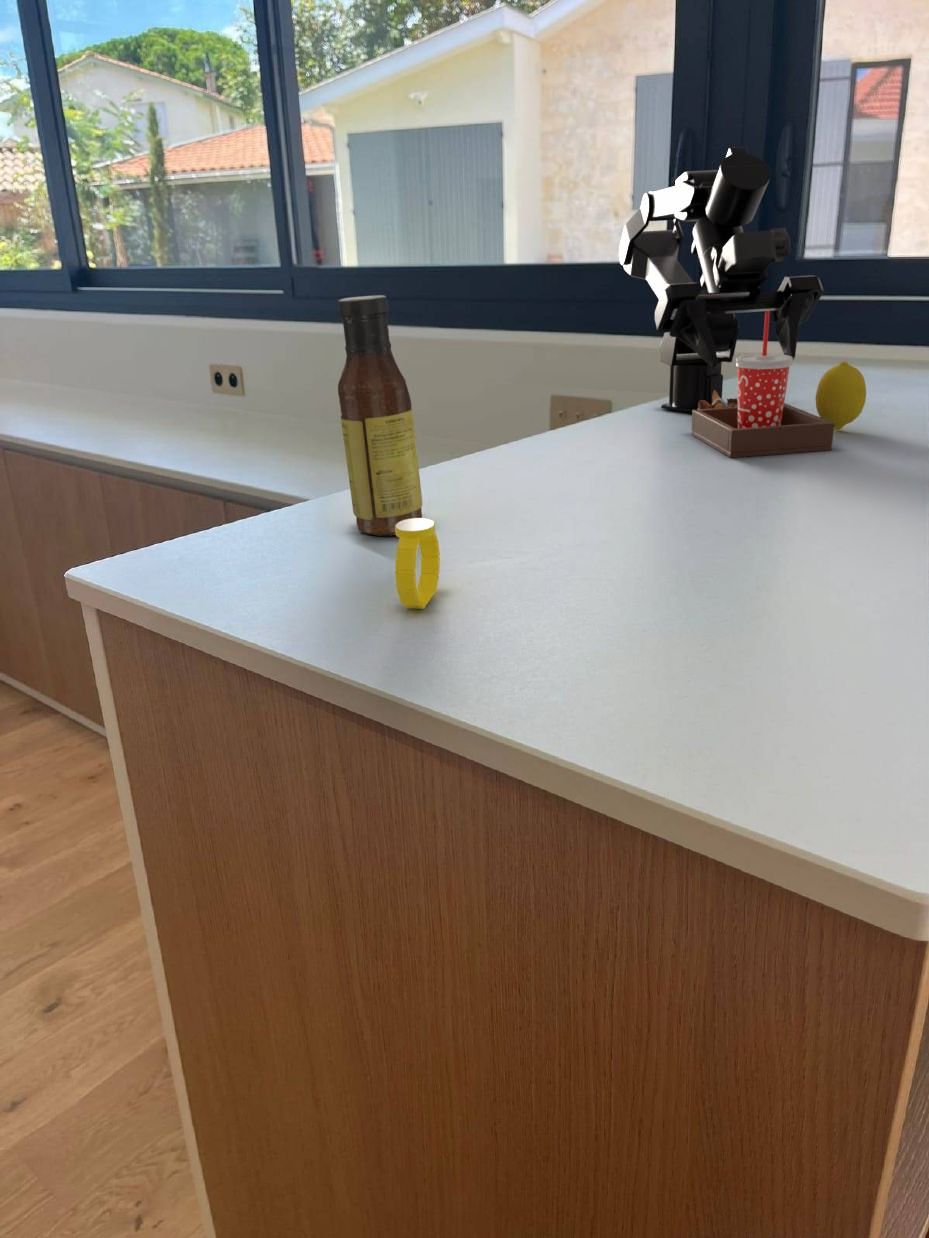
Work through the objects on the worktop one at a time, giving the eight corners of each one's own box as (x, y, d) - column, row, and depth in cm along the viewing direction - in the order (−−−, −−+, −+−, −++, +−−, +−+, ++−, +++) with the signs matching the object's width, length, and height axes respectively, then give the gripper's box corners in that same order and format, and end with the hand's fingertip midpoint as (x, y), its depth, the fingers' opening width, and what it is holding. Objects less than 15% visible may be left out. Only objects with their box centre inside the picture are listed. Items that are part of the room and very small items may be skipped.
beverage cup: (732, 431, 113) (740, 308, 108) (786, 432, 111) (797, 307, 106) (729, 442, 108) (737, 314, 102) (785, 443, 106) (797, 313, 100)
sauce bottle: (433, 519, 87) (419, 292, 79) (408, 540, 82) (389, 299, 74) (369, 516, 89) (348, 294, 81) (339, 536, 84) (315, 301, 76)
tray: (691, 434, 115) (692, 409, 114) (783, 427, 116) (785, 403, 115) (730, 458, 103) (732, 430, 102) (831, 450, 104) (834, 423, 103)
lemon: (869, 434, 111) (877, 364, 107) (821, 436, 111) (828, 366, 108) (852, 424, 116) (859, 357, 113) (806, 426, 116) (812, 359, 113)
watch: (415, 586, 71) (410, 510, 69) (450, 588, 71) (446, 511, 68) (389, 616, 66) (381, 535, 64) (426, 619, 65) (421, 537, 63)
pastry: (765, 411, 125) (767, 384, 124) (745, 430, 116) (747, 400, 114) (712, 409, 129) (714, 382, 127) (688, 427, 119) (689, 398, 118)
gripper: (665, 208, 106) (694, 321, 100) (824, 200, 108) (861, 310, 102) (643, 278, 116) (668, 384, 111) (788, 270, 118) (820, 373, 112)
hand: (753, 362), depth 109 cm, fingers open, 9 cm apart
